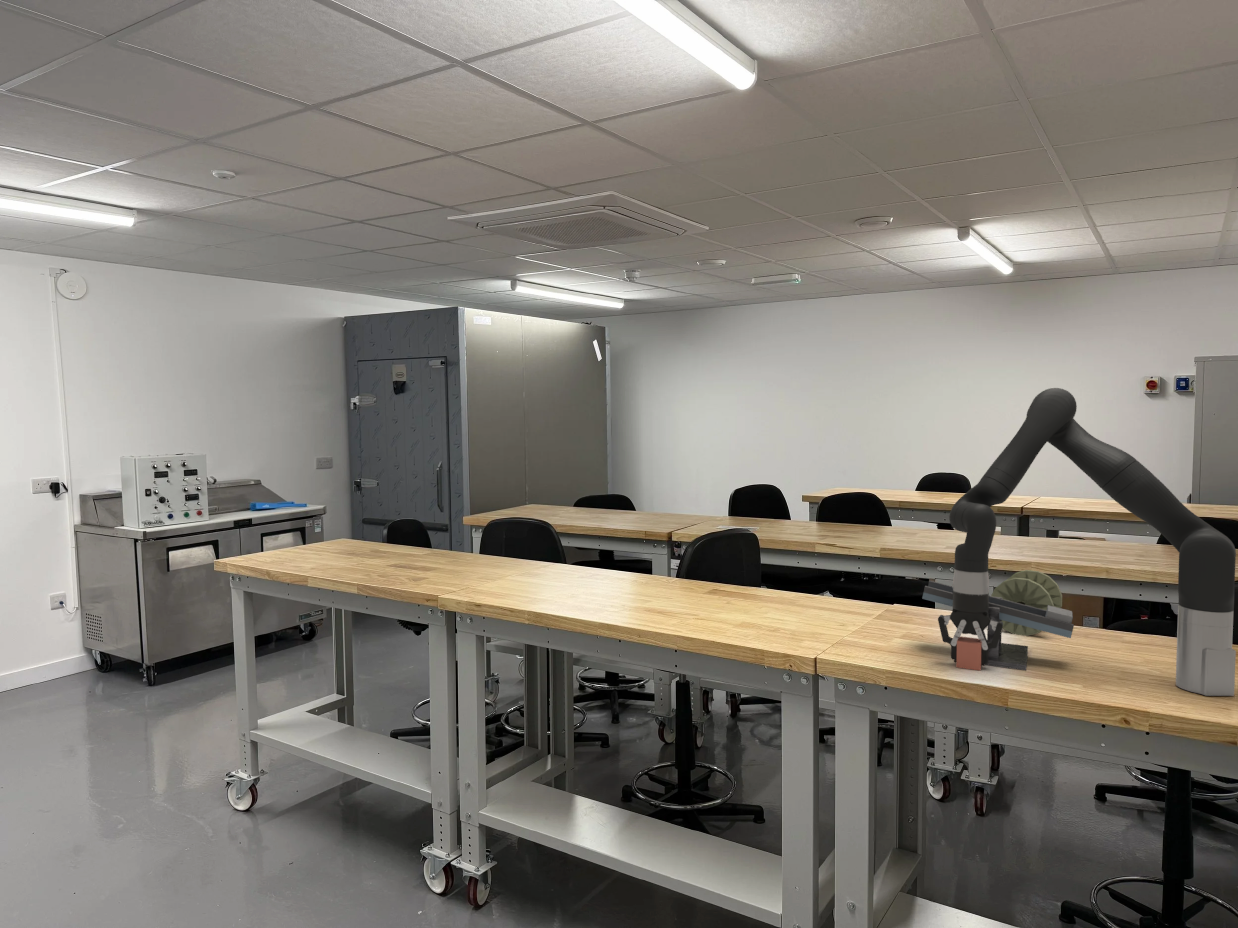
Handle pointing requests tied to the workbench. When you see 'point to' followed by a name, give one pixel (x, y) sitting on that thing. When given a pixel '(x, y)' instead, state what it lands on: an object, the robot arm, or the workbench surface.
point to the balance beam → (1012, 611)
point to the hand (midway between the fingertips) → (969, 662)
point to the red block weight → (969, 653)
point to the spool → (1028, 595)
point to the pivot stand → (1005, 648)
